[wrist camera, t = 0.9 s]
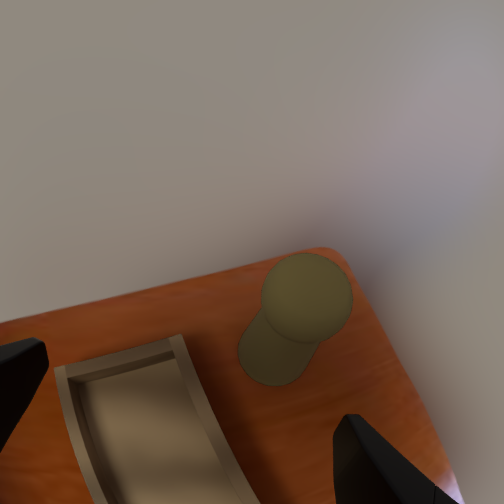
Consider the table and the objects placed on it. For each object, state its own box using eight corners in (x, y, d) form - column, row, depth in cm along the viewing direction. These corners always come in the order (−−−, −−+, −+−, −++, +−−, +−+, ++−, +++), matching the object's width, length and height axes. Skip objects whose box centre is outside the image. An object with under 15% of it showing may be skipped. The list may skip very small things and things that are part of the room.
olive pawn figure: (288, 310, 26) (330, 227, 17) (320, 368, 23) (388, 307, 14) (226, 333, 24) (239, 251, 15) (256, 397, 21) (295, 355, 12)
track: (289, 554, 12) (300, 565, 10) (163, 588, 8) (158, 603, 6) (184, 347, 22) (181, 333, 20) (69, 378, 19) (53, 367, 16)
